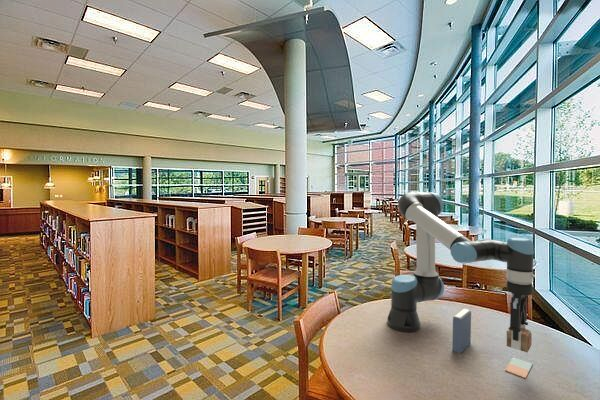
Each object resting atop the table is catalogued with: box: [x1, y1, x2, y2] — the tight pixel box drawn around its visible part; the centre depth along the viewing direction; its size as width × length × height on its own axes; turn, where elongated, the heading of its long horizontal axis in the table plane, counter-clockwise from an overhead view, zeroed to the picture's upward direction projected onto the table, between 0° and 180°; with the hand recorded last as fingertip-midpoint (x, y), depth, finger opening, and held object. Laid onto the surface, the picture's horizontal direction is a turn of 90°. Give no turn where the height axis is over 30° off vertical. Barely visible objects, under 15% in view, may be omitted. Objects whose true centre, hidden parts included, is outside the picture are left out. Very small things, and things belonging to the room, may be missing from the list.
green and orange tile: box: [504, 362, 530, 380], centre depth 106 cm, size 6×6×1 cm
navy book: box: [451, 308, 472, 355], centre depth 122 cm, size 3×12×14 cm, turn 133°
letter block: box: [506, 327, 533, 353], centre depth 105 cm, size 6×6×6 cm
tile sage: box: [509, 357, 533, 372], centre depth 110 cm, size 6×6×1 cm
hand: (518, 345), depth 105 cm, fingers closed on letter block, 6 cm apart
